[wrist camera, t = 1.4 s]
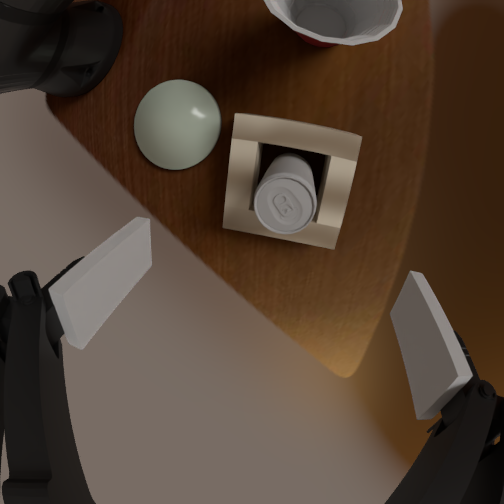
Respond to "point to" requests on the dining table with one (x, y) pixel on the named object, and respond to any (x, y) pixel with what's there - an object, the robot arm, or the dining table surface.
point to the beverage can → (286, 195)
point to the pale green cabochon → (177, 124)
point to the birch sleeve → (300, 137)
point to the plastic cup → (338, 19)
